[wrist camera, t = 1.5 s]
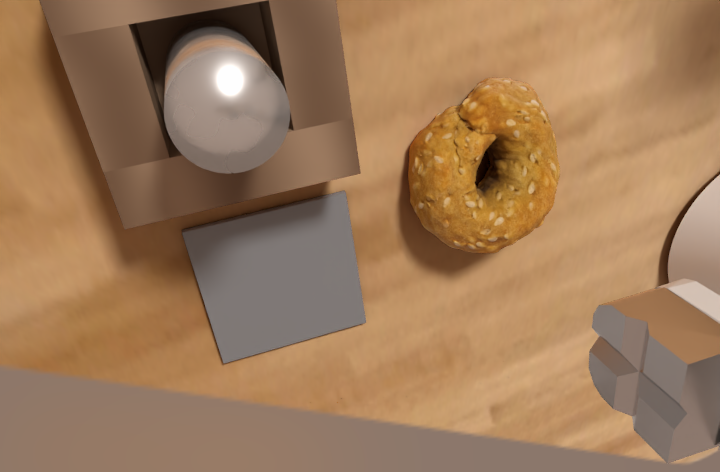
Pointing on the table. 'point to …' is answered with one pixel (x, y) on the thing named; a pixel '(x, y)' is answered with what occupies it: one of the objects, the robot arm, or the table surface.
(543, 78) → the table surface
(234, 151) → the part
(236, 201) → the pocket block
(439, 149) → the bagel
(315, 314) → the mat
